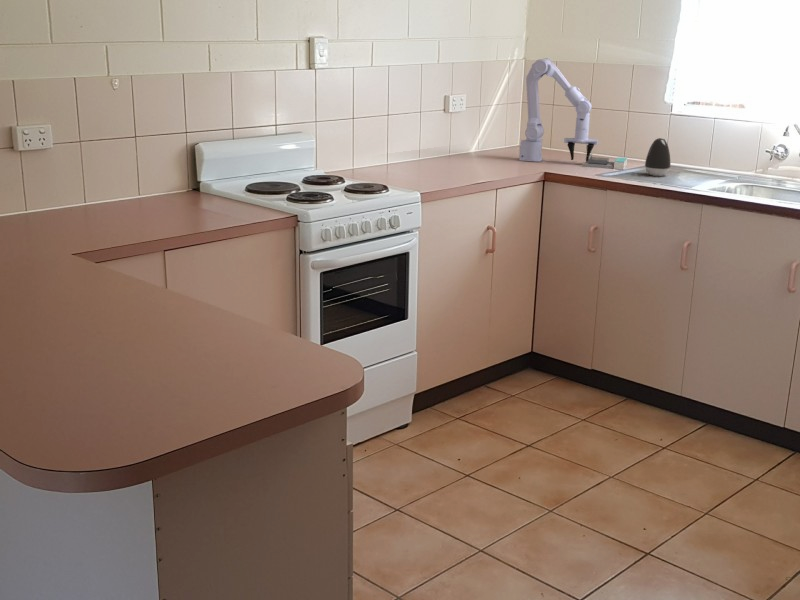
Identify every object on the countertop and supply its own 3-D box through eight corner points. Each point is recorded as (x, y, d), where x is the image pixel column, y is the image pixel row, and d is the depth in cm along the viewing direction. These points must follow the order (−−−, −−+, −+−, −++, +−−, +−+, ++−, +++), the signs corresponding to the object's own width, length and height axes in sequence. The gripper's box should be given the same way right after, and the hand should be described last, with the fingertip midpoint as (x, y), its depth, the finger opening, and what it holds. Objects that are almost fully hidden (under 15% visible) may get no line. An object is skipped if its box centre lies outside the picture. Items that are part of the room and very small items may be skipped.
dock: (582, 166, 402) (582, 159, 401) (586, 162, 413) (586, 155, 412) (623, 169, 397) (623, 162, 396) (626, 165, 407) (627, 158, 406)
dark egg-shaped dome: (672, 174, 386) (676, 138, 382) (665, 178, 378) (669, 140, 373) (648, 172, 392) (652, 135, 387) (640, 175, 383) (644, 138, 379)
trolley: (587, 166, 404) (588, 155, 402) (590, 163, 410) (590, 153, 409) (606, 167, 401) (607, 157, 400) (608, 165, 408) (609, 154, 406)
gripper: (563, 128, 402) (561, 160, 406) (597, 131, 398) (595, 162, 402) (566, 127, 408) (564, 158, 413) (600, 129, 404) (597, 160, 408)
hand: (579, 160), depth 408 cm, fingers open, 6 cm apart
